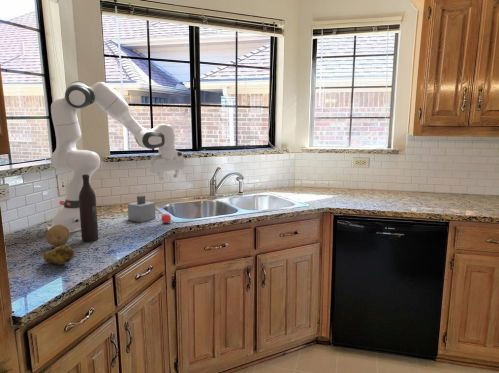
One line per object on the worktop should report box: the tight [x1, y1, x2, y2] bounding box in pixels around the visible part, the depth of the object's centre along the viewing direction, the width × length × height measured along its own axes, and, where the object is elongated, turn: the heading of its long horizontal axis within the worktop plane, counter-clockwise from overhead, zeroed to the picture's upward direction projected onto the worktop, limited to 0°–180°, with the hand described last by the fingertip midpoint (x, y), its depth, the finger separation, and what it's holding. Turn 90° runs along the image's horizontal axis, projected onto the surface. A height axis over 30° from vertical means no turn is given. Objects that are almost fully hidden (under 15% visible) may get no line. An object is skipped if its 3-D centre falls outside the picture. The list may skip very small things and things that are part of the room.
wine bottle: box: [79, 174, 99, 243], centre depth 168 cm, size 7×7×30 cm
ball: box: [161, 213, 172, 224], centre depth 199 cm, size 5×5×5 cm
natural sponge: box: [45, 225, 71, 248], centre depth 159 cm, size 9×9×10 cm
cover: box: [127, 195, 156, 223], centre depth 206 cm, size 10×10×13 cm
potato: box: [42, 245, 75, 265], centre depth 141 cm, size 8×13×8 cm, turn 47°
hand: (168, 179), depth 205 cm, fingers open, 8 cm apart
